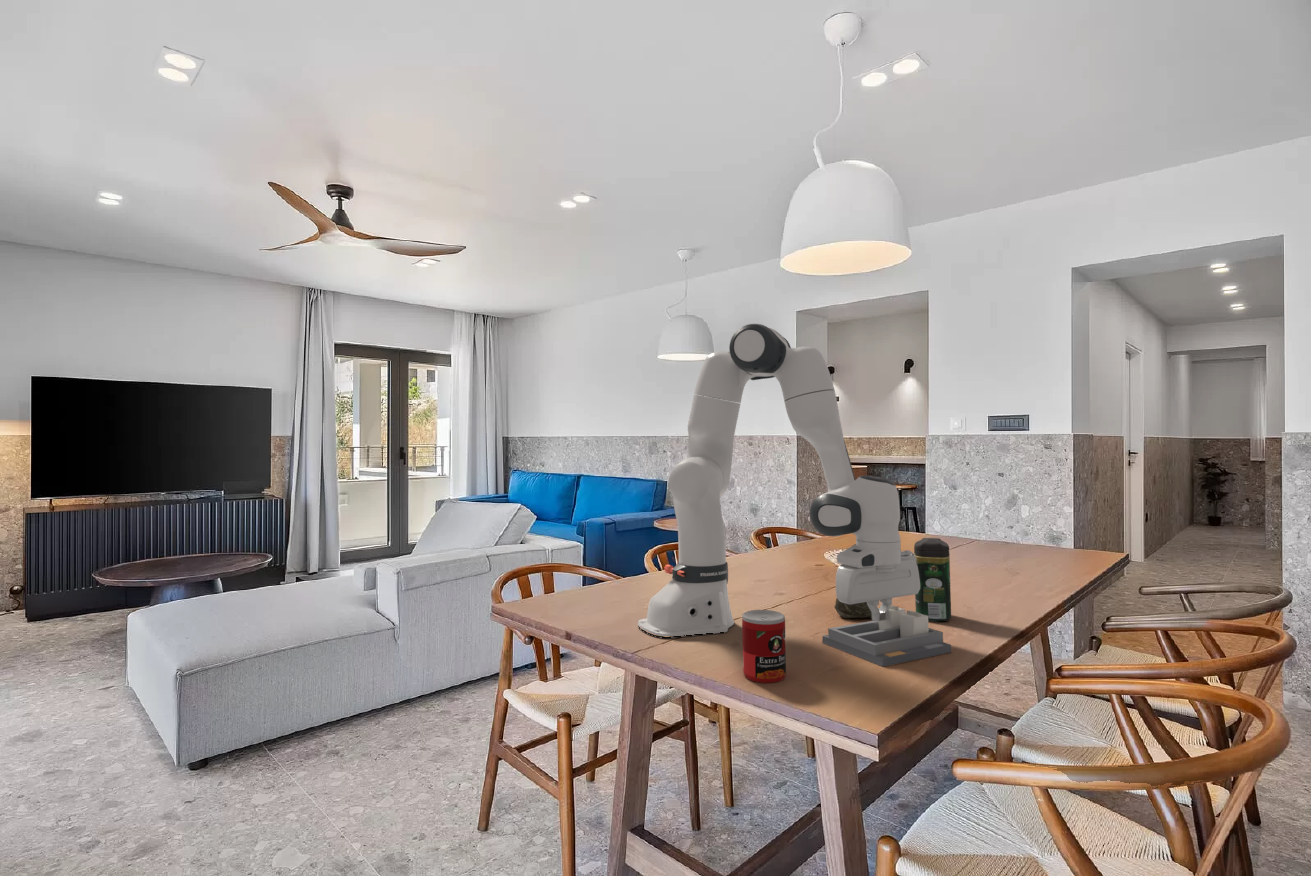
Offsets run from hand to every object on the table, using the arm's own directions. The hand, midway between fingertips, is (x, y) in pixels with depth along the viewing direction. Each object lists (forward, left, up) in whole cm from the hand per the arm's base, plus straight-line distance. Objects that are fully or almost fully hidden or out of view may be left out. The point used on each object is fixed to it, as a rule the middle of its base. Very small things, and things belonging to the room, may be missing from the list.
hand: (879, 620), depth 140 cm
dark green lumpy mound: (+11, +20, -5) cm, 24 cm away
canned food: (-33, -5, -5) cm, 33 cm away
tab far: (+3, 0, -3) cm, 5 cm away
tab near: (+3, -6, -3) cm, 7 cm away
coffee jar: (+25, +9, -5) cm, 27 cm away
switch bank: (-2, -3, -5) cm, 6 cm away
